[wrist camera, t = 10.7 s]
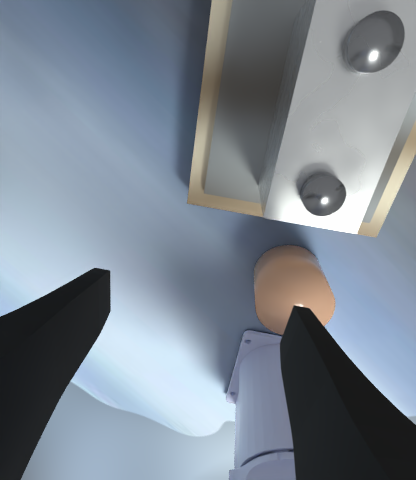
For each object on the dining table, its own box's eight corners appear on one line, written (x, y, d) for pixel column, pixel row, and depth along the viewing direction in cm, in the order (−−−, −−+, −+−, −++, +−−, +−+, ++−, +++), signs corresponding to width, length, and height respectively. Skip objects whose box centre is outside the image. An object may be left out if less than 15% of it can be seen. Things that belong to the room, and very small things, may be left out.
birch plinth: (364, 224, 20) (379, 241, 18) (192, 193, 20) (185, 206, 18) (459, 6, 14) (499, -10, 12) (221, -32, 15) (217, -54, 13)
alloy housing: (326, 196, 17) (361, 240, 12) (257, 185, 17) (264, 223, 12) (383, 29, 13) (468, -11, 8) (295, 16, 13) (326, -31, 8)
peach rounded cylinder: (308, 304, 23) (320, 342, 20) (247, 293, 24) (248, 328, 20) (329, 251, 21) (347, 283, 18) (261, 238, 21) (265, 267, 18)
